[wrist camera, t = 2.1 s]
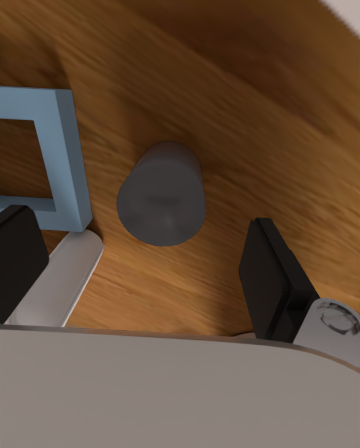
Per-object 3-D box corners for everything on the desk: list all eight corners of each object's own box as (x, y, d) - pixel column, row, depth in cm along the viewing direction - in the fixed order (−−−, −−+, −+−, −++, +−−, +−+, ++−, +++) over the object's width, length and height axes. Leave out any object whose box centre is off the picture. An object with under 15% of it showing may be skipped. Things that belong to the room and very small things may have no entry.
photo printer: (73, 294, 29) (4, 417, 18) (39, 278, 27) (-56, 400, 17) (112, 241, 24) (52, 361, 14) (75, 219, 23) (-25, 332, 12)
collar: (71, 89, 17) (54, 90, 15) (92, 218, 23) (82, 232, 21) (-75, 81, 17) (-113, 80, 15) (-18, 211, 23) (-40, 224, 21)
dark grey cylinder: (204, 143, 19) (210, 169, 13) (198, 203, 22) (201, 248, 16) (137, 139, 19) (112, 163, 13) (139, 200, 22) (120, 243, 16)
